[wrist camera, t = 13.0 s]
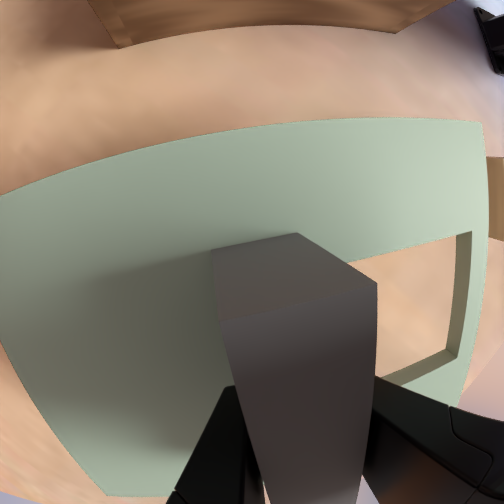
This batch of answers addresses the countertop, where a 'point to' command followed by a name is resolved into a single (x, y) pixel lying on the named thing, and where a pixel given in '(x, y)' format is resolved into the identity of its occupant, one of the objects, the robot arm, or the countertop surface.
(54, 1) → the countertop surface
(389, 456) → the robot arm
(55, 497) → the countertop surface
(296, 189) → the lid
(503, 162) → the tan rectangular block
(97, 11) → the brown wooden open box
